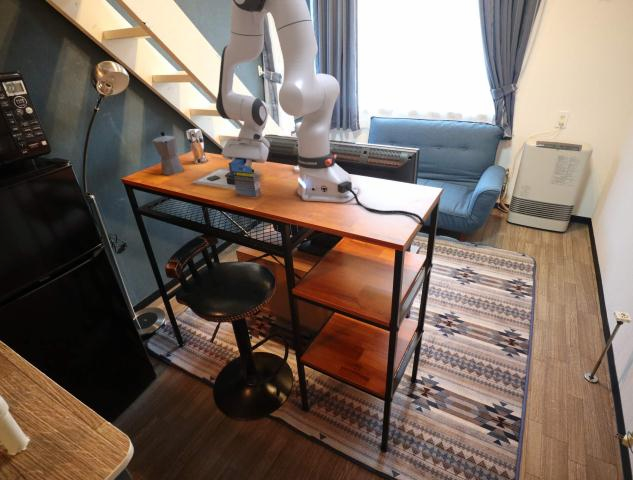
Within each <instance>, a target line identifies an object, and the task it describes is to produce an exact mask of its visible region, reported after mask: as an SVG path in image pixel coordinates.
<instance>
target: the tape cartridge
mask: <svg viewBox="0 0 633 480" xmlns="http://www.w3.org/2000/svg"><path fill="white" fill-rule="evenodd" d="M231 167H232V172H233V177H234V182H235V187H236V188H235V191H236V192H235V193H236V194H237V195H241V196H242V195H243V196H247V197H258V196H259V195H261V194H262V188H261V182H260V176H259V175H260V174H259V175H258V174H256V173H257V172H256V173H252V169H253V168H252V165H250V166H243V165H234V164H231ZM238 168H243V169H245V170H239V169H238Z"/></svg>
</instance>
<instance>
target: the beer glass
mask: <svg viewBox="0 0 633 480" xmlns="http://www.w3.org/2000/svg"><path fill="white" fill-rule="evenodd" d="M185 133H186V139H187V142H188V146H189V148H190V150H191V153H192V156H193V163H194V164H196V165H200V164H205V163H207V161H208V159H207V157H206V154H205V142H204V137H203V133H202V130H201V128H192V129H187V130H186V131H185Z"/></svg>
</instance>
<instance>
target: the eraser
mask: <svg viewBox="0 0 633 480" xmlns="http://www.w3.org/2000/svg"><path fill="white" fill-rule="evenodd" d="M246 160H247V159H243V158H238V159H236V160H234V161H232V160H231V161H229V162H228V169H230V174H231V176H229V177H227V178H226V180H227V184H231V185H235V182H234V177H233V172H232V167H231V164H234V165H243V166H244V165H245V164H246V163H247V162H246ZM238 169H239V170H241V168H238ZM251 169H252V173H254V172H255V169H253V168H251Z"/></svg>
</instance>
